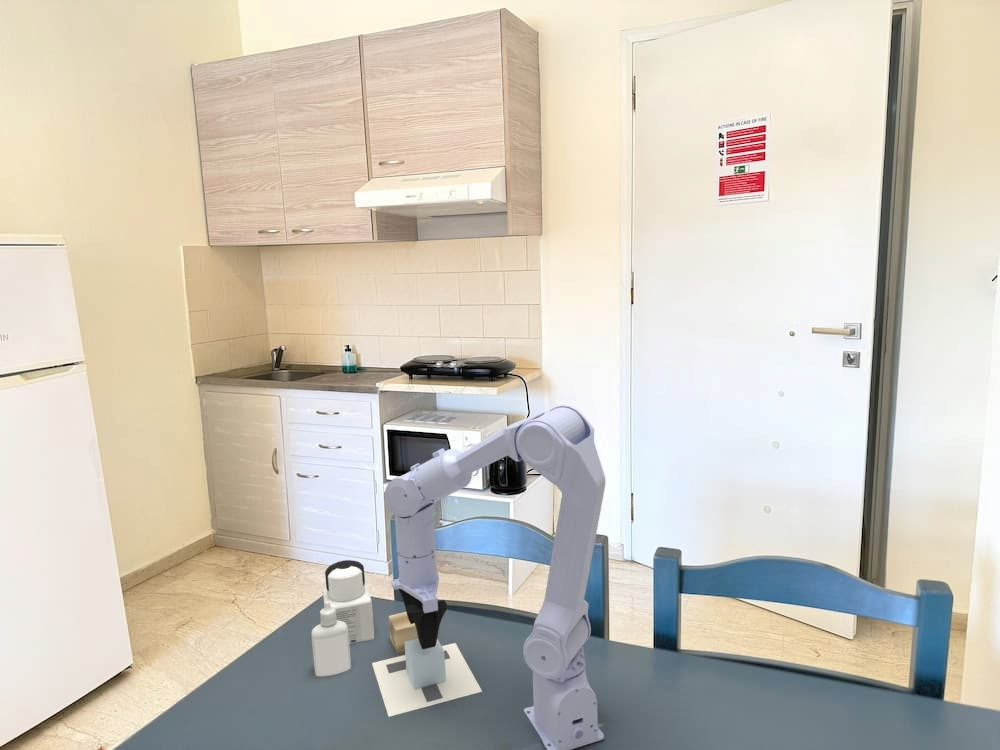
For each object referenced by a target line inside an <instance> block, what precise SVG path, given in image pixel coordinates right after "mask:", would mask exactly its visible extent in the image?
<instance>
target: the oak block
mask: <svg viewBox="0 0 1000 750" xmlns="http://www.w3.org/2000/svg"><path fill="white" fill-rule="evenodd" d="M388 626H389V640H390V641H391V643H392V646H393V648H394V650H395V652H396V655H401V654H405V643H404V642H406V641H410V640H414V639H418V635H417V630H416V626H415V623H413V624H410V621H409V619H408V616H407V612H406V611H404V612H400V613H396V614H392V615H389V616H388Z"/></svg>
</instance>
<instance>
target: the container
mask: <svg viewBox="0 0 1000 750" xmlns="http://www.w3.org/2000/svg"><path fill="white" fill-rule="evenodd" d="M324 577H325V586H326V588H323V590H322V594H323V595H322V596H323V598H322V599H323V606H324V605H325V602H326V601H329V602H330V606H331V607H334V608H335V609H336V618H337V620H338V621H343V622H345V623H346V624H347V628H348V635H349V645H351V644H356V643H359V642H360V643H361V642H364V641H365V642H366V641H371V640H374V639H375V627H374V616H373V603H372V597H371V594H370V593H371V592H370V590H369V586H368V582H367V581H366V579H365V567H364V565H363V564H362V562H359V561H357V560H351V559H346V560H339V561H337V562H335V563H332V564H331V565H329V566H328V567H327V568H326V569H325V571H324Z"/></svg>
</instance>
